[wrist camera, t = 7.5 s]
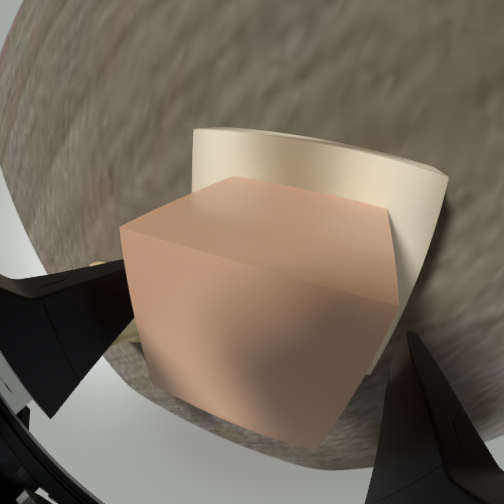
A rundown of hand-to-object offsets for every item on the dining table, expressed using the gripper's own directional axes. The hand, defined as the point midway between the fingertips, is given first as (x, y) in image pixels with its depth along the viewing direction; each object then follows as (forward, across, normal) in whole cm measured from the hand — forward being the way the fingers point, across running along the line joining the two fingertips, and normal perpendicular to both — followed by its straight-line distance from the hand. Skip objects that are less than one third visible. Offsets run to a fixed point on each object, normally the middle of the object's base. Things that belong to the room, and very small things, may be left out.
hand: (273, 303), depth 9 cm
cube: (+3, 0, 0) cm, 3 cm away
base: (+6, 0, 0) cm, 6 cm away
